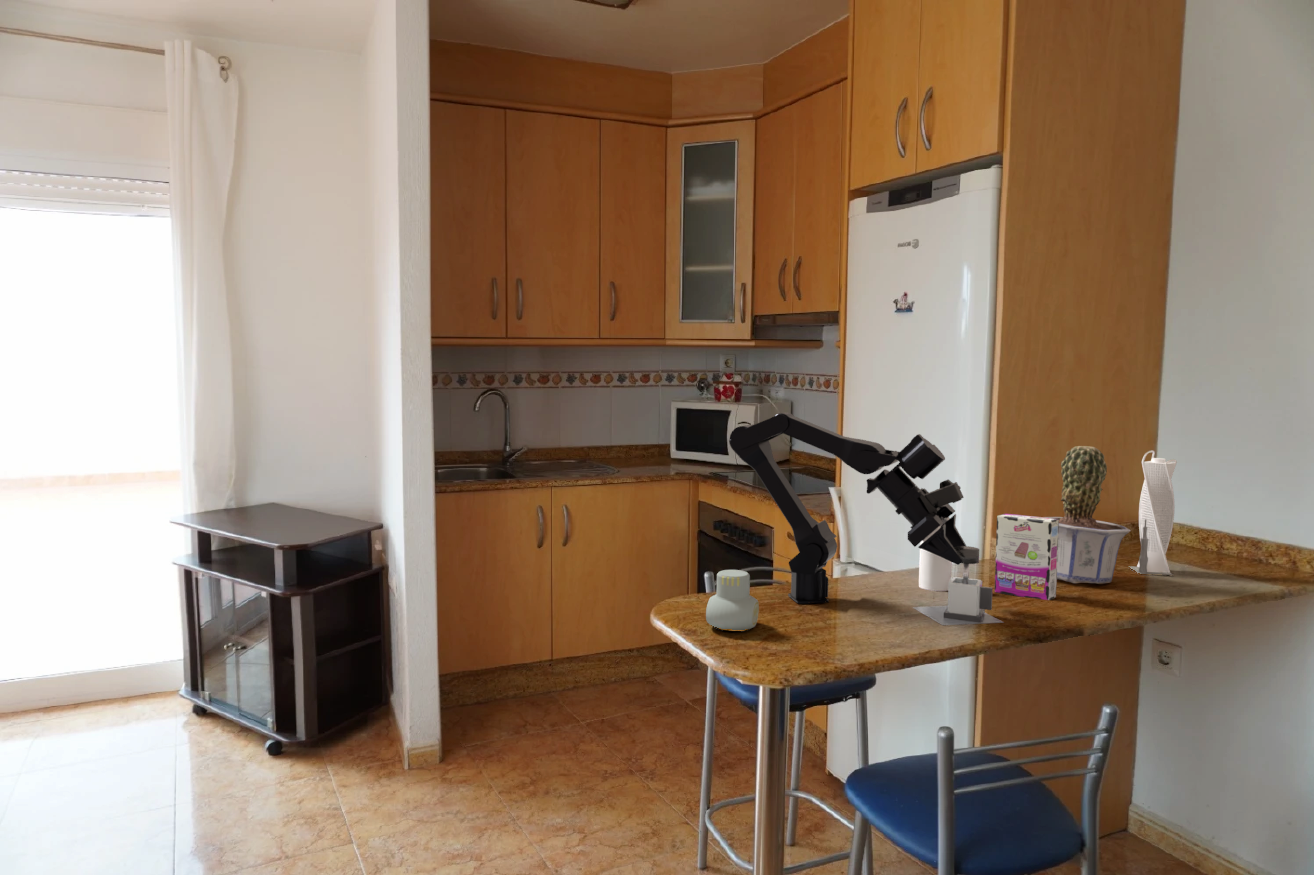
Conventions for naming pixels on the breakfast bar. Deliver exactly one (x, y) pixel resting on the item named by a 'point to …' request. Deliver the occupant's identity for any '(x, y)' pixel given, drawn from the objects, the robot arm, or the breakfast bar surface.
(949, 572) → the can
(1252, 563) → the breakfast bar surface
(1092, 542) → the potted plant
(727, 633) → the breakfast bar surface
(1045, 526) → the candy bar box
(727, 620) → the air freshener
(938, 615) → the slate mat
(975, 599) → the white square sleeve
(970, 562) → the plunger
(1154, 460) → the skyscraper
